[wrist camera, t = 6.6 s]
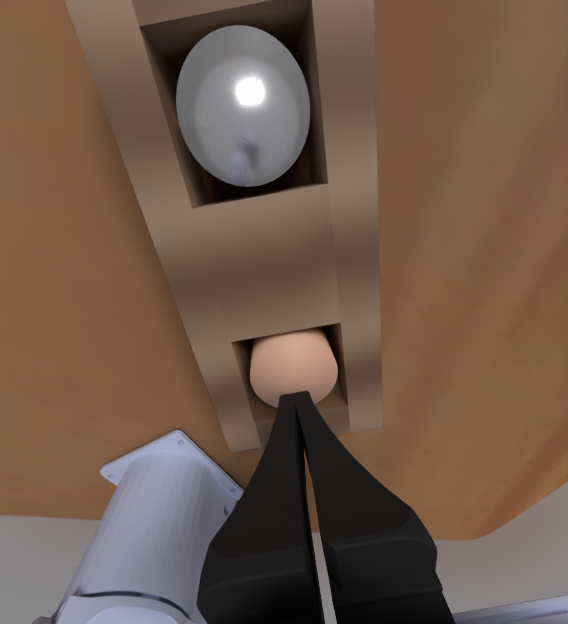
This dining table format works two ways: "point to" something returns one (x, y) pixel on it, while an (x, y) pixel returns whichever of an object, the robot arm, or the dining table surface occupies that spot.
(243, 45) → the near peg
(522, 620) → the robot arm
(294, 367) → the far peg
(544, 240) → the dining table surface
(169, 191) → the wooden peg holder
